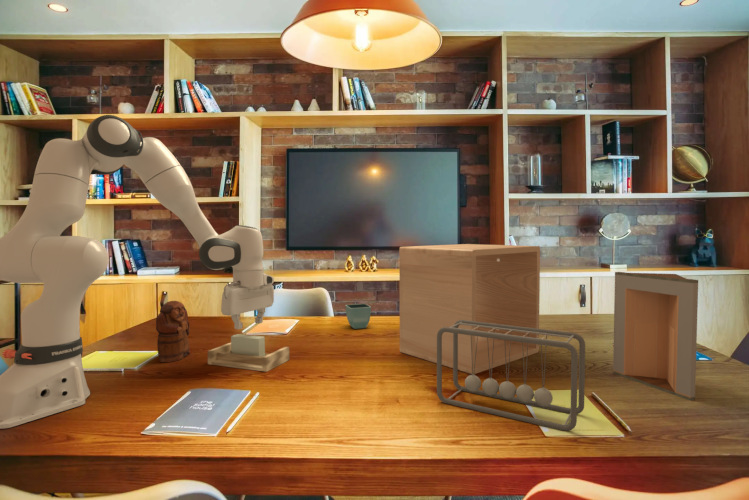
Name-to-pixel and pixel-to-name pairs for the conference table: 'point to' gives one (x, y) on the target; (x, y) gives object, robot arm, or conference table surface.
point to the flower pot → (358, 315)
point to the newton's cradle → (508, 388)
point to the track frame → (247, 359)
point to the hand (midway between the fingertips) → (249, 325)
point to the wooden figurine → (172, 332)
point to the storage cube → (468, 300)
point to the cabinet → (656, 331)
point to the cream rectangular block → (248, 345)
